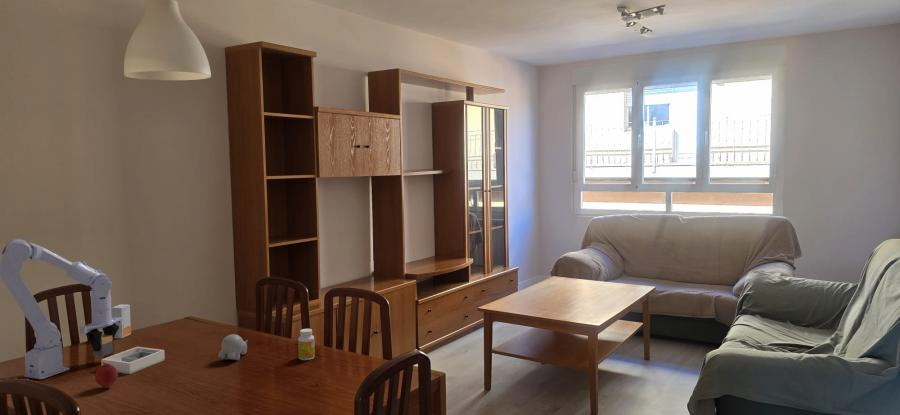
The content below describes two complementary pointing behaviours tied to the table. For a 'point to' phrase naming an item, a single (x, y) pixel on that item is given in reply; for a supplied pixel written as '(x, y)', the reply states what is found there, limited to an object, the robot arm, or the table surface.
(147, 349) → the walled box
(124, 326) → the skincare box
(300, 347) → the supplement bottle
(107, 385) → the onion
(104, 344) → the block
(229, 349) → the chubby cartoon animal
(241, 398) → the table surface
